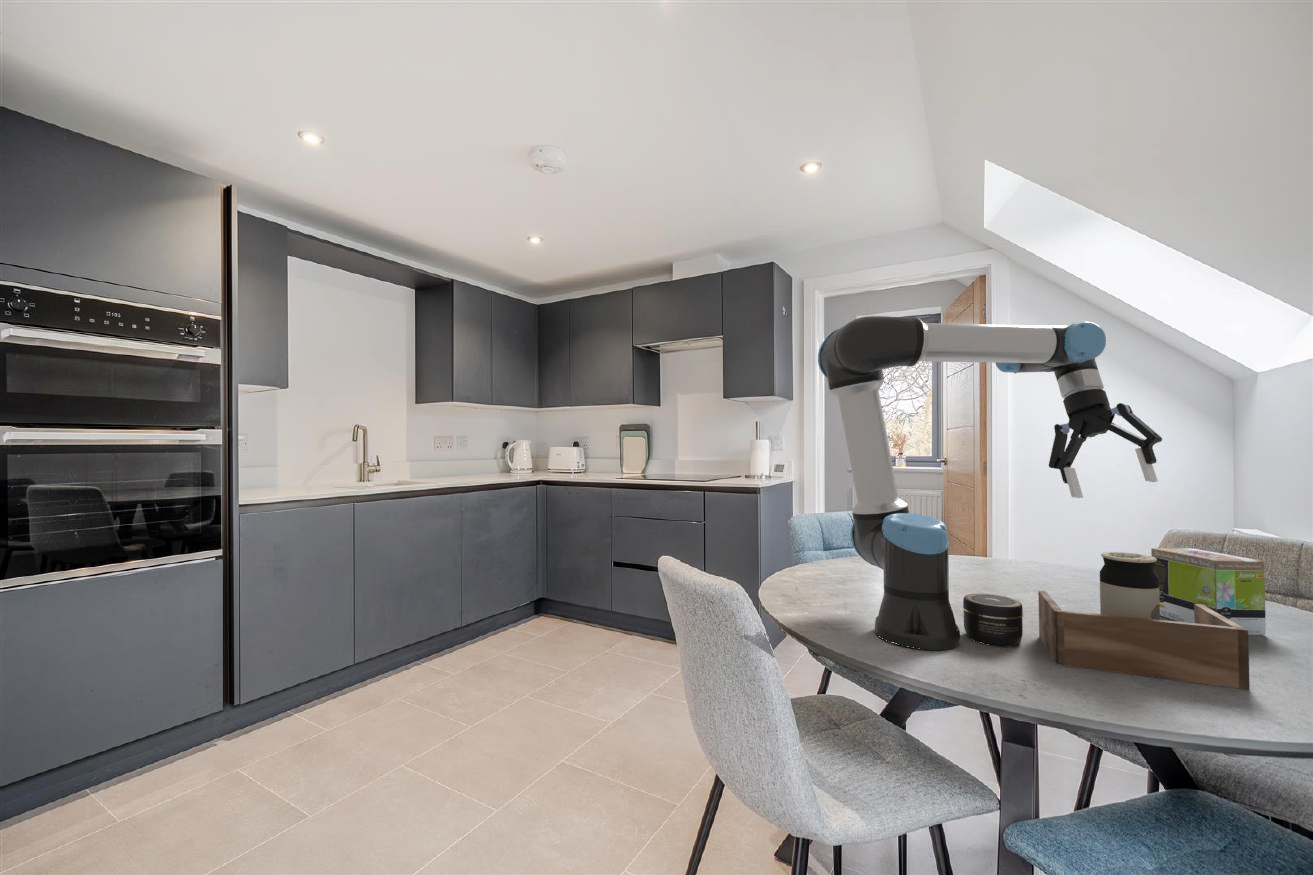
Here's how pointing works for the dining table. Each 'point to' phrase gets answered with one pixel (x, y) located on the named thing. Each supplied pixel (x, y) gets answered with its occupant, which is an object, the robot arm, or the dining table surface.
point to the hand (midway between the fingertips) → (1112, 489)
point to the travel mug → (1129, 586)
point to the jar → (993, 619)
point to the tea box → (1211, 586)
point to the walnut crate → (1148, 645)
